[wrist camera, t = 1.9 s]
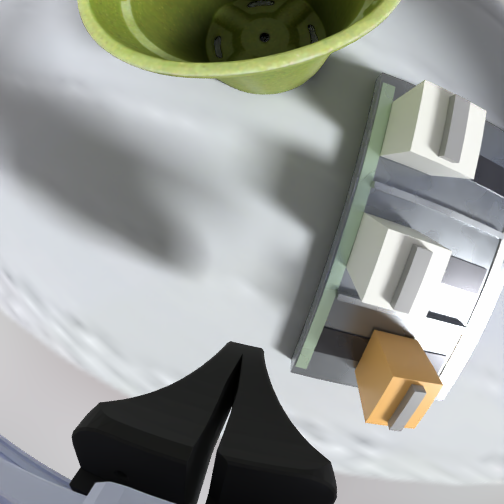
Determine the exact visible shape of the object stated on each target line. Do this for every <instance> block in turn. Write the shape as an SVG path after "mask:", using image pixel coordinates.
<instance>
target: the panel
mask: <svg viewBox="0 0 504 504" xmlns="http://www.w3.org/2000/svg"><path fill="white" fill-rule="evenodd" d="M414 87H415V85H413V84H410V83H408V82H405V81H403V80H400V79H398V78H395V77H393V76H390V75H387V74H385V73H382V74H381V75H380V76H379V77H378V79H377V80H376V85H375V89H374V94H373V98H372V103H371V107H370V111H369V116H368V120H367V124H366V128H365V132H364V136H363V140H362V144H361V148H360V152H359V155H358V159H357V163H356V167H355V170H354V174H353V177H352V181H351V185H350V188H349V192H348V195H347V198H346V202H345V205H344V209H343V212H342V215H341V219H340V222H339V225H338V228H337V232H336V235H335V238H334V241H333V244H332V247H331V251H330V254H329V257H328V260H327V263H326V266H325V269H324V272H323V275H322V278H321V281H320V284H319V286H318V289H317V292H316V295H315V298H314V301H313V304H312V306H311V309H310V312H309V315H308V317H307V320H306V323H305V326H304V328H303V331H302V334H301V336H300V339H299V342H298V344H297V347H296V349H295V352H294V355H293V357H292V360H291V372H292V373H296V374H300V375H304V376H308V377H312V378H316V379H321V380H325V381H330V382H334V383H339V384H344V385H349V386H353V387H358V384H357V380H356V375H355V369H356V367H357V365H358V363H359V361H360V359H361V357H362V355H363V353H364V351H365V349H366V346H367V344H368V342H369V340H370V338H371V336H372V333H373V331H374V330H378V331H383V332H387V333H391V334H395V335H399V336H403V337H407V338H412V339H416V340H418V342H419V343H420V345H421V347H422V348H423V350H424V352H425V353H426V355H427V357H428V359H429V360H430V362H431V364H432V365H433V367H434V369H435V371H436V372H437V374H438V376H439V378H440V379H441V381H442V383H443V387H442V389H441V390H440V392H439V393H438V395H437V396H436V398H435V400H440V401H443V400H444V398H445V397H446V395H447V393H448V392H449V390H450V389H451V387H452V386H453V384H454V382H455V381H456V379H457V377H458V376H459V374H460V372H461V371H462V369H463V367H464V365H465V364H466V362H467V360H468V358H469V356H470V355H471V353H472V351H473V349H474V347H475V345H476V343H477V341H478V340H479V338H480V336H481V334H482V332H483V330H484V328H485V325H486V323H487V321H488V319H489V317H490V315H491V313H492V310H493V308H494V306H495V304H496V301H497V299H498V297H499V294H500V292H501V289H502V287H503V284H504V131H503V130H501V129H500V128H498V127H496V126H495V125H493V124H491V123H489V122H488V121H486V120H485V125H484V131H483V137H482V143H481V148H480V153H479V158H478V162H477V167H476V171H475V176H474V179H465V178H455V177H443V176H431V175H428V174H426V173H423V172H421V171H418V170H416V169H413V168H411V167H408V166H406V165H403V164H401V163H398V162H395V161H393V160H390V159H387V158H384V157H382V156H380V153H381V149H382V145H383V141H384V137H385V133H386V129H387V125H388V121H389V116H390V112H391V107H392V103H393V102H394V101H395V100H396V99H398V98H399V97H401V96H402V95H404V94H405V93H406V92H408V91H409V90H411V89H412V88H414ZM364 212H365V213H368V214H371V215H374V216H377V217H380V218H383V219H386V220H389V221H392V222H395V223H398V224H400V225H403V226H406V227H409V228H412V229H415V230H416V231H418V232H420V233H422V234H424V235H425V236H427V237H429V238H431V239H432V240H434V241H436V242H438V243H439V244H441V245H443V246H444V247H446V248H448V249H449V250H451V251H452V254H451V256H450V259H449V262H448V265H447V267H446V270H445V273H444V275H443V278H442V280H441V283H440V285H439V288H438V290H437V293H436V295H435V297H434V300H433V302H432V304H431V307H430V309H429V311H428V313H427V316H426V318H425V319H423V318H419V317H415V316H411V315H408V314H404V313H400V312H396V311H393V310H389V309H385V308H382V307H378V306H374V305H371V304H367V303H363V302H362V301H361V299H360V297H359V295H358V292H357V290H356V288H355V286H354V284H353V281H352V279H351V277H350V275H349V273H348V270H347V268H346V266H347V263H348V260H349V257H350V254H351V251H352V248H353V245H354V242H355V239H356V236H357V233H358V230H359V227H360V223H361V220H362V217H363V214H364Z"/></svg>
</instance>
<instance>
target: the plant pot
mask: <svg viewBox="0 0 504 504" xmlns="http://www.w3.org/2000/svg"><path fill="white" fill-rule="evenodd" d="M77 1H78V9H79V13H80V16H81V19H82V21H83V24H84V26H85V28H86V29H87V32H88V33H89V34H90V35H91V37H92V38H93V39H94V40H95V41H96V43H97V44H98V45H100V46H101V47H102V48H103V49H105V50H106V51H107V52H109V53H110V54H112V55H113V56H115V57H116V58H118V59H120V60H122V61H123V62H126V63H128V64H130V65H133V66H135V67H138V68H141V69H143V70H147V71H150V72H154V73H158V74H163V75H169V76H175V77H185V78H216V79H218V80H220V81H221V82H223V83H225V84H227V85H229V86H231V87H233V88H235V89H238V90H240V91H244V92H247V93H253V94H277V93H281V92H285V91H288V90H292V89H294V88H296V87H298V86H300V85H302V84H303V83H305V82H306V81H307V80H309V79H310V78H311V77H312V76H314V75H315V73H316V72H317V71H318V70H319V69H320V68H321V66H322V65H323V64H324V62H325V61H326V59H327V58H328V57H329V55H330V54H331V53H332V52H335V51H337V50H340V49H342V48H344V47H345V46H347V45H349V44H351V43H353V42H355V41H357V40H358V39H360V38H361V37H363V36H364V35H366V34H368V33H369V32H370V31H371V30H373V29H374V28H375V27H377V26H378V25H379V24H380V23H381V22H383V21H384V20H385V19H386V18H387V17H388V16H389V15H390V13H391V12H392V11H393V10H394V9H395V8H396V6H397V5H398V4H399V2H400V1H401V0H269V1H273V2H274V4H273V5H267V6H265V5H262V6H255V7H247V5H248V4H249V3H251V2H254V1H258V0H77ZM309 24H310V25H312V26H314V27H315V33H316V35H317V37H318V41H317V42H314V43H312V44H311V38H310V32H309V29H308V25H309ZM262 33H267V34H269V37H270V39H269V40H268V41H267V42H263V41H261V40H260V35H261V34H262ZM217 36H221V45H220V46H221V52H222V58H219V57H217V56H216V53H215V48H214V40H215V39H216V37H217Z"/></svg>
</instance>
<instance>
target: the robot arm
mask: <svg viewBox="0 0 504 504" xmlns="http://www.w3.org/2000/svg"><path fill="white" fill-rule="evenodd" d="M231 407H232V409H231ZM230 410H231V414H230V417H229V419H228V422H227V425H226V428H225V431H224V434H223V436H222V439H221V441H220V444H219V447H218V449H217V453H216V458H215V463H214V468H213V473H212V479H211V484H210V489H209V494H208V497H207V500H206V503H205V504H334V502H335V500H336V498H337V486H336V480H335V476H334V472H333V468H332V465H331V462H330V461H329V460H328V459H327V458H325V457H324V456H323V455H322V454H321V453H319V452H318V451H317V450H316V449H315V448H314V447H312V446H311V445H310V444H309V443H308V441H307V440H306V439H305V438H304V437H303V436H302V435H301V434H300V432H299V431H298V430H297V429H296V427H295V426H294V425H293V424H292V422H291V421H290V419H289V418H288V416H287V415H286V413H285V411H284V410H283V408H282V406H281V404H280V402H279V400H278V398H277V396H276V394H275V392H274V389H273V387H272V384H271V382H270V379H269V376H268V372H267V369H266V365H265V359H264V351H263V349H262V348H258V347H253V346H249V345H244V344H240V343H235V342H231V341H230V342H228V343H227V344H226V345H225V346H224V347H223V348H222V349H221V350H220V351H219V352H218V353H217V354H216V355H215V356H214V357H212V358H211V359H210V360H209V361H207V362H206V363H205V364H204V365H202V366H201V367H200V368H198V369H197V370H195V371H194V372H192V373H191V374H189V375H188V376H186V377H184V378H183V379H181V380H179V381H177V382H175V383H173V384H171V385H169V386H167V387H164V388H162V389H159V390H157V391H154V392H151V393H148V394H145V395H141V396H137V397H133V398H129V399H124V400H117V401H109V402H100V403H99V404H98V405H97V406H96V407H94V408H93V409H92V410H91V411H90V412H89V413H88V414H87V415H86V416H85V418H84V419H83V420H82V421H81V423H80V424H79V425H78V426H77V427H76V429H75V430H74V431H73V434H72V442H73V446H74V449H75V452H76V455H77V457H78V460H79V463H80V466H81V468H80V469H79V471H78V472H77V473H76V475H75V476H74V478H73V479H72V480H70V479H68V478H66V477H65V476H63V475H61V474H59V473H58V472H56V471H54V470H52V469H51V468H49V467H47V466H46V465H44V464H43V463H41V462H39V461H38V460H36V459H35V458H33V457H31V456H30V455H28V454H27V453H25V452H24V451H23V450H21V449H20V448H18V447H17V446H15V445H14V444H13V443H11V442H10V441H8V440H7V439H6V438H4V437H3V436H1V435H0V504H197V501H198V498H199V494H200V491H201V488H202V485H203V481H204V478H205V475H206V472H207V468H208V465H209V462H210V459H211V455H212V453H213V450H214V447H215V445H216V443H217V440H218V438H219V436H220V433H221V431H222V429H223V426H224V424H225V422H226V419H227V417H228V414H229V412H230Z"/></svg>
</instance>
